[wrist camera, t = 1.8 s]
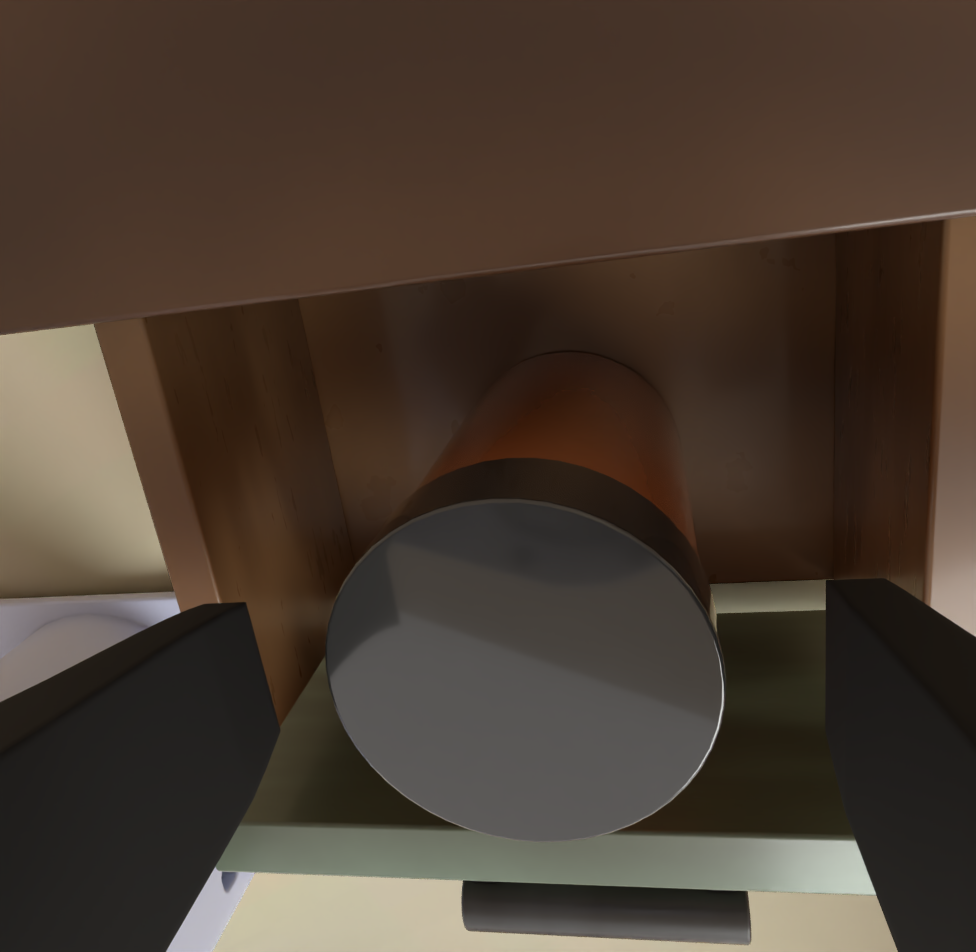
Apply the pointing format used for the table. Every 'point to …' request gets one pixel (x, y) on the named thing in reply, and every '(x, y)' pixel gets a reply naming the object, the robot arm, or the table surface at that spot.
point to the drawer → (715, 509)
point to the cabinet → (452, 139)
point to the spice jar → (537, 615)
